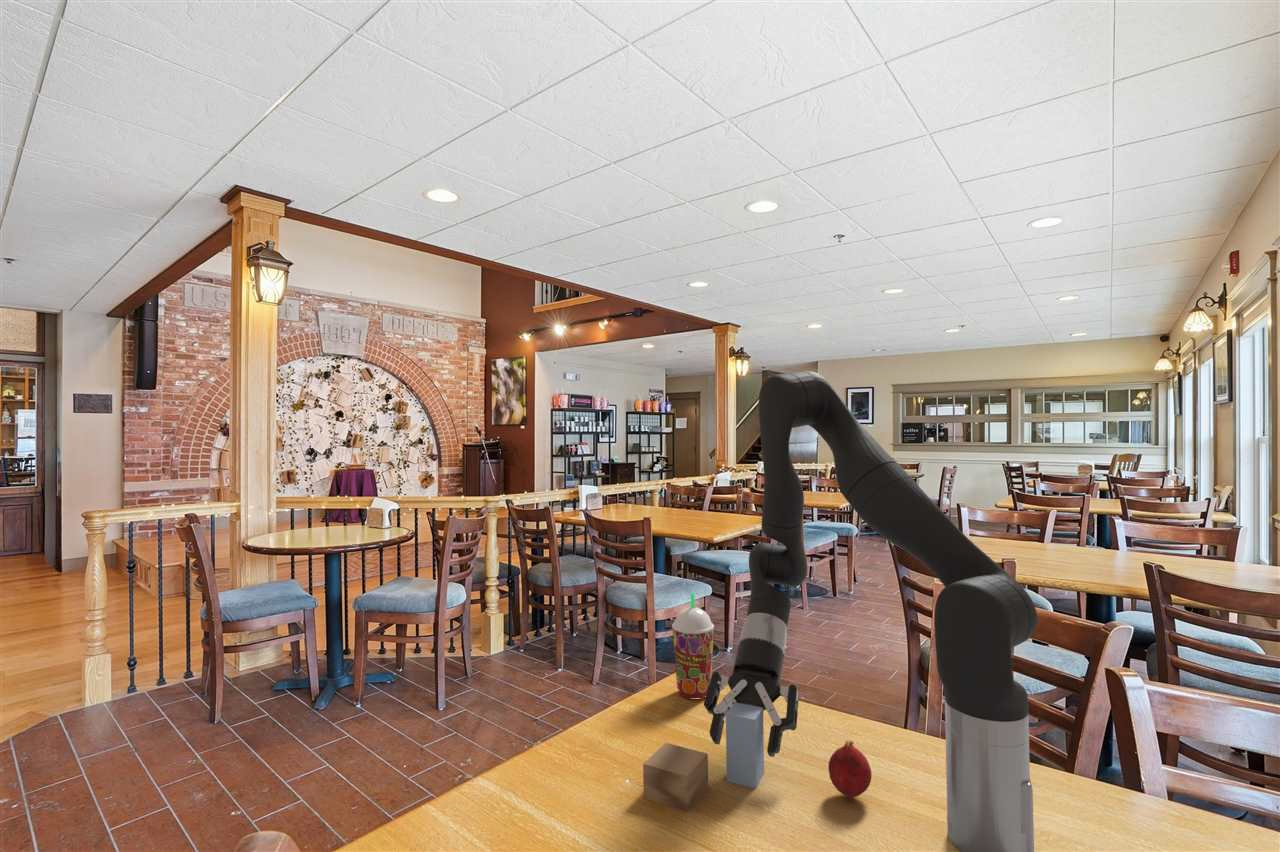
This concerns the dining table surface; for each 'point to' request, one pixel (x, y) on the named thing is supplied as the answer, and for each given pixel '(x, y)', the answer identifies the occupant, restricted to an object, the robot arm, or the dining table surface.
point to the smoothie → (693, 651)
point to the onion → (849, 770)
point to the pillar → (744, 744)
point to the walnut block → (675, 776)
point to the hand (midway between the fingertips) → (742, 748)
